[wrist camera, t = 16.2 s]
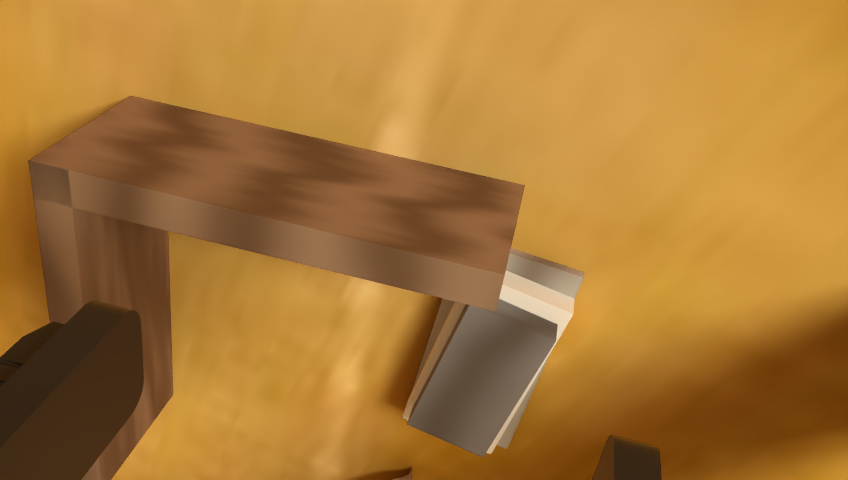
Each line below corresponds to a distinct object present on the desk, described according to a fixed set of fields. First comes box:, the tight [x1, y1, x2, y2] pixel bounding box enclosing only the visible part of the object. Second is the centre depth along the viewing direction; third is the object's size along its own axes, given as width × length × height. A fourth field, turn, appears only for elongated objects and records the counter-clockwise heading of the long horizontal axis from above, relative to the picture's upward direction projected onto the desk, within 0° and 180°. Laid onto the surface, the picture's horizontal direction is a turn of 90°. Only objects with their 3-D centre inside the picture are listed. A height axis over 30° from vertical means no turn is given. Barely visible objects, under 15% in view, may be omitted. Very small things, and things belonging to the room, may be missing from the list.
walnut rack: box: [28, 96, 525, 480], centre depth 44 cm, size 22×22×9 cm
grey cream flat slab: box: [411, 248, 584, 449], centre depth 47 cm, size 7×14×2 cm, turn 166°
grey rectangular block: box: [407, 299, 558, 457], centre depth 45 cm, size 5×10×2 cm, turn 159°
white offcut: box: [402, 270, 574, 454], centre depth 46 cm, size 6×12×2 cm, turn 161°
